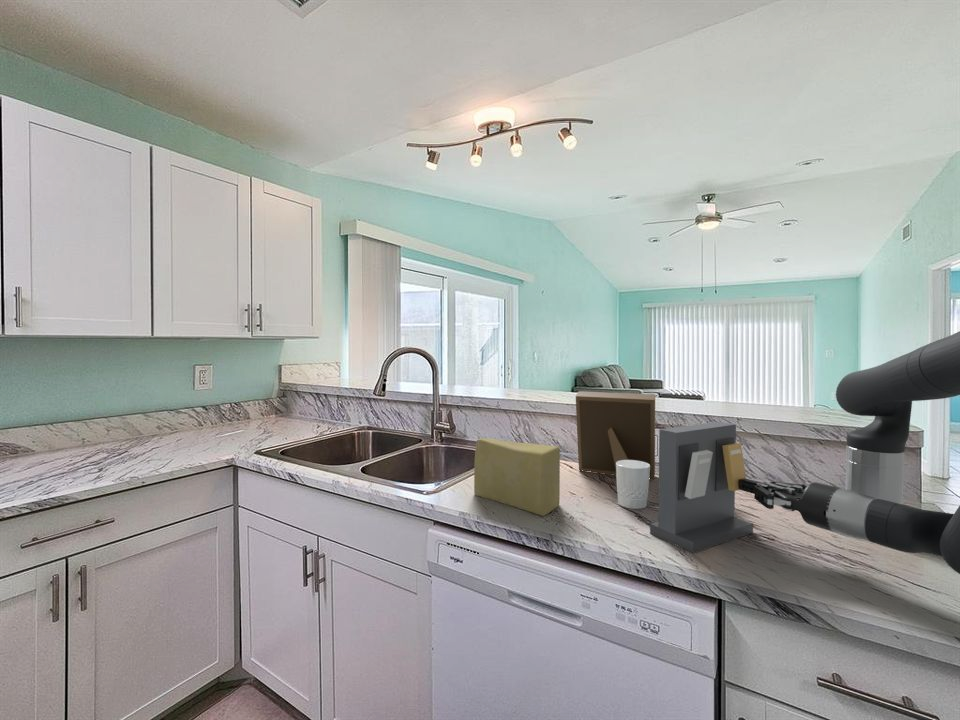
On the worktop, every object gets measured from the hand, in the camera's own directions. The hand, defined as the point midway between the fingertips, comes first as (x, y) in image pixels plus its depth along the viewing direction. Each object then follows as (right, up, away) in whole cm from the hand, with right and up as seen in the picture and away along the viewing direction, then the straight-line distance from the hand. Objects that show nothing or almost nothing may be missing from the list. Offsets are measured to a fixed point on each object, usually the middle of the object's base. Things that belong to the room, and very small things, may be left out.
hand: (740, 483), depth 91 cm
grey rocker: (-11, -1, -4) cm, 12 cm away
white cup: (-16, -10, +19) cm, 27 cm away
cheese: (-45, -10, +20) cm, 51 cm away
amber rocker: (0, -1, 0) cm, 1 cm away
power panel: (-7, -11, +2) cm, 13 cm away
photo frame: (-14, -10, +40) cm, 44 cm away
